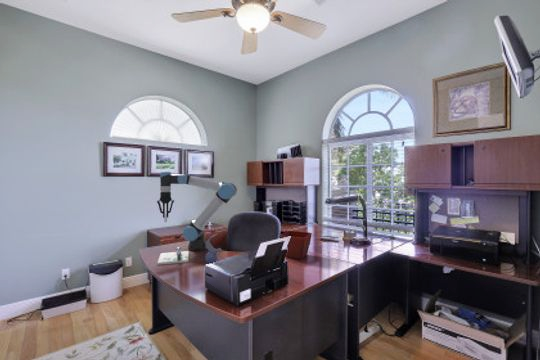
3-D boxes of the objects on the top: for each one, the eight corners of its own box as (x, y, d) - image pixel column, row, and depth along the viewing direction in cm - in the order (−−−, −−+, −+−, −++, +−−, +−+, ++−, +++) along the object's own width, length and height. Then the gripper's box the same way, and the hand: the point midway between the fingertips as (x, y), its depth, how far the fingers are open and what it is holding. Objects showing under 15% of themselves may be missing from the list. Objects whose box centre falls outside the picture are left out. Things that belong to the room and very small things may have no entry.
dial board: (188, 252, 199) (188, 250, 199) (188, 262, 178) (188, 259, 178) (160, 255, 193) (160, 252, 193) (157, 264, 172) (157, 262, 172)
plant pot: (289, 250, 206) (289, 230, 205) (311, 254, 197) (312, 232, 197) (279, 257, 189) (279, 235, 188) (304, 261, 180) (304, 238, 180)
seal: (219, 266, 170) (219, 236, 170) (202, 264, 173) (203, 235, 173) (225, 262, 178) (225, 233, 178) (209, 260, 181) (209, 232, 181)
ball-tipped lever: (176, 253, 192) (176, 247, 192) (181, 252, 194) (181, 246, 193) (176, 260, 175) (176, 254, 175) (181, 260, 176) (181, 253, 176)
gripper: (155, 192, 191) (155, 223, 192) (174, 191, 195) (174, 222, 196) (157, 191, 199) (157, 221, 199) (174, 191, 202) (174, 220, 203)
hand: (165, 221), depth 197 cm, fingers closed
